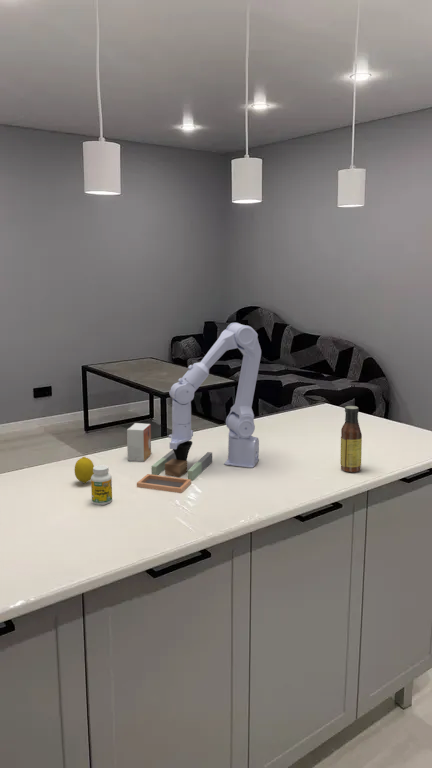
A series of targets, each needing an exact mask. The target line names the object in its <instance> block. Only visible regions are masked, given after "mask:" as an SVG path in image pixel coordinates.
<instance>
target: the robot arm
mask: <svg viewBox="0 0 432 768" xmlns="http://www.w3.org/2000/svg"><path fill="white" fill-rule="evenodd" d="M258 336H259V334H258V333H257V331H256V330H255V329H254V328H253V327H252V326H250V325H247V324H246V325H245V324H241V323H239V322H231V323H230V324H228V325H227V327H226V329H224V330H223V331H221V333H220V335H219V336H218V338H217V340H216V341H215V342H214V343H213V345H212V346H211V347H210V349H209V350H208V351H207V353H206V354H205V355H204V357H203V358H202V359H201V360H200V361H199V362H194V363H193V364H190V365H188V367H187V369H188V370H187V371H186V372H185V374H183V376H182V377H179V379H177V382H175V383H173V384H172V386H170V390H168V392H169V396H170V398H171V400H172V401H171V403H172V405H171V406H172V407H171V423H172V424H171V425H172V428H171V429H172V431H171V434H169V435H168V439H170V442H169V450H173V451H174V453H175V455H176V459H178V460H184V461H187V462H188V456H189V454H190V453H189V452H190V449H191V447H192V445H193V441H192V439H193V436H194V429H193V430H192V401H193V400H194V397H195V392H196V391H197V390H198V389H199V387H201V385H202V384H203V383H204V381H206V379H207V378H208V377H209V375H210V369H211V368H212V366H214V365H215V364H216V362H217V361H218V360H219V359H220V358H221V357H222V356H223V355H224V354H225V353H226V352H227V351H229V350H235V349H238V350H239V351H240V352H241V353H242V355H243V356H242V361H241V368H240V373H239V379H238V385H237V388H236V389H237V390H236V395H235V401H234V404H233V405H232V406H231V407H230V411H229V413H228V415H227V416H226V418H225V425H226V428H227V429H229V431H228V442H227V443H228V452H227V453H228V455H227V459H226V461H224V463H223V465H225V466H233V467H243V468H252V469H253V468H255V466H256V464H258V462H259V461H260V457H259V456H260V455H259V454H260V451H259V450H260V440H259V437H257V436H253V434H254V432H255V429H256V428H255V427H256V425H255V421H254V418H255V414H254V411H253V408H252V407H253V401H254V396H255V390H256V386H257V385H256V384H257V379H258V374H259V369H260V362H261V357H262V349H261V345H260V343H259V338H258Z"/></svg>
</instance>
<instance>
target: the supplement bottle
mask: <svg viewBox="0 0 432 768" xmlns="http://www.w3.org/2000/svg"><path fill="white" fill-rule="evenodd" d="M109 471H110V470H109V466H108V465H106V464H98V465H94V467H93V473H94V474H93V475H92V476H91V480H90V485H91V489H90V491H91V502H92V503H93V504H94V505H97V506H104V505H109V504H110V503H111V502H112V501H113V487H112V486H113V483H112V482H113V481H112V480H113V479H112V475H111V474H110V473H109Z"/></svg>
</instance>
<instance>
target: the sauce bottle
mask: <svg viewBox="0 0 432 768" xmlns="http://www.w3.org/2000/svg"><path fill="white" fill-rule="evenodd" d="M359 410H360V409H359V407H358V406H356V405H347V406H344V411H345V415H344V417H345V418H344V424H343V425H342V427H341V431H340V432H341V433H340V435H341V436H340V469H341V471H343V472H346V473H359V472H360V471H361V467H362V449H363V448H362V443H363V440H362V438H363V437H362V436H363V435H362V432H361V428H360V423H359Z"/></svg>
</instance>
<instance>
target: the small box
mask: <svg viewBox="0 0 432 768" xmlns="http://www.w3.org/2000/svg"><path fill="white" fill-rule="evenodd" d="M151 427H152V425H151V423H141V422H134V423H133V424H132V425H131V426H130V427H128V428H127V429H126V444H127V445H126V446H127V449H126V450H127V451H126V452H127V461H133V462H145V461H146V460H147V459H148V458H149V457H150V456H151V455H152V431H151V430H152V428H151Z"/></svg>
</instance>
